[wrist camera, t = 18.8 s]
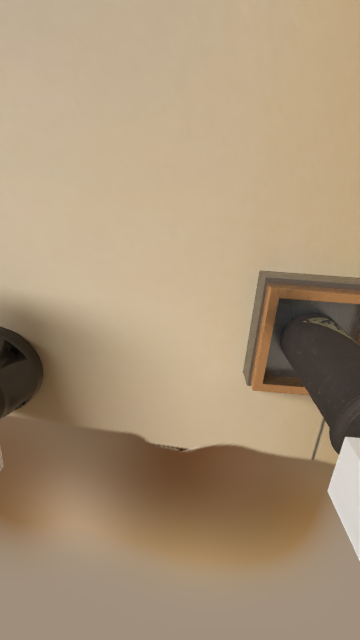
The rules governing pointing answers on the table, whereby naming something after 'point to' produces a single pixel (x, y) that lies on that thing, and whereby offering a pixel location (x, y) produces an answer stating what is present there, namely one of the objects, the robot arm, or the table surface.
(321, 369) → the container
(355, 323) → the framed panel with knob
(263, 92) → the table surface
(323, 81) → the table surface
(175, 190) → the table surface
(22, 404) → the robot arm
